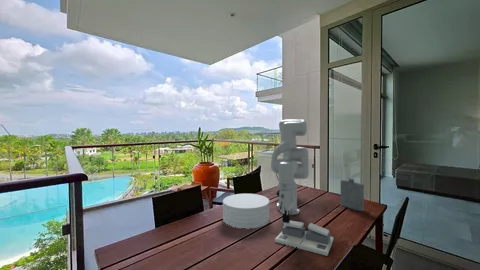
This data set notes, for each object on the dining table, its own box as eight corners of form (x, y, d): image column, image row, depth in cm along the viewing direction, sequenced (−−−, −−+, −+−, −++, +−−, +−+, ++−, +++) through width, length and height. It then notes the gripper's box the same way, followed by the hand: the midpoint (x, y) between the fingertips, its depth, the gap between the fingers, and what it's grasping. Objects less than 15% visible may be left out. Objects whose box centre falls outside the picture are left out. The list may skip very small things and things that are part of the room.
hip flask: (364, 210, 152) (364, 180, 151) (361, 211, 150) (361, 181, 149) (342, 203, 165) (342, 176, 165) (338, 205, 163) (338, 176, 162)
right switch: (307, 228, 111) (308, 225, 111) (309, 224, 114) (310, 222, 114) (326, 236, 106) (327, 234, 106) (328, 232, 110) (329, 230, 110)
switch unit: (274, 242, 111) (274, 232, 111) (286, 229, 125) (286, 221, 125) (327, 255, 99) (327, 245, 99) (333, 240, 113) (333, 231, 113)
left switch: (283, 225, 117) (283, 222, 117) (286, 222, 121) (286, 219, 121) (301, 228, 112) (301, 225, 112) (303, 225, 116) (303, 222, 116)
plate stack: (213, 223, 134) (213, 203, 134) (236, 208, 159) (236, 191, 158) (258, 233, 121) (258, 211, 121) (275, 214, 146) (275, 197, 145)
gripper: (288, 190, 109) (288, 228, 110) (298, 184, 122) (297, 218, 122) (273, 188, 113) (273, 225, 114) (284, 182, 126) (284, 215, 126)
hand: (286, 221), depth 118 cm, fingers closed
